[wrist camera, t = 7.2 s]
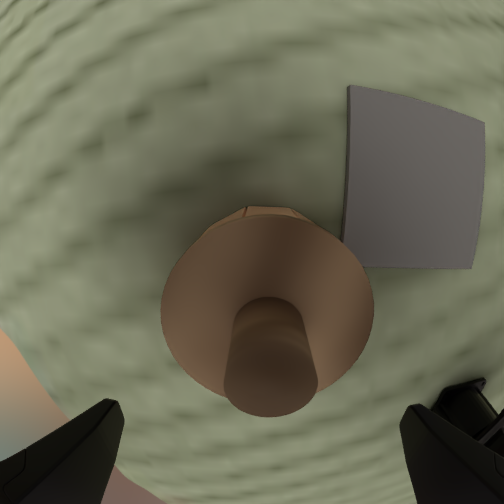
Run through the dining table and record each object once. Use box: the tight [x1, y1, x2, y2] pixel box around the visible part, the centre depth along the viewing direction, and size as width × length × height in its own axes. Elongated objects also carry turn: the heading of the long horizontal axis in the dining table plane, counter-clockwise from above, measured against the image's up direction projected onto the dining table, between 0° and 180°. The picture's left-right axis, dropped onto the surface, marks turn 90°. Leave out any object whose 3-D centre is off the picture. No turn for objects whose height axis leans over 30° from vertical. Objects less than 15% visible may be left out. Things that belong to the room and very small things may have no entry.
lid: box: [161, 214, 374, 417], centre depth 11 cm, size 10×10×5 cm
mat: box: [341, 85, 485, 269], centre depth 16 cm, size 11×11×1 cm
